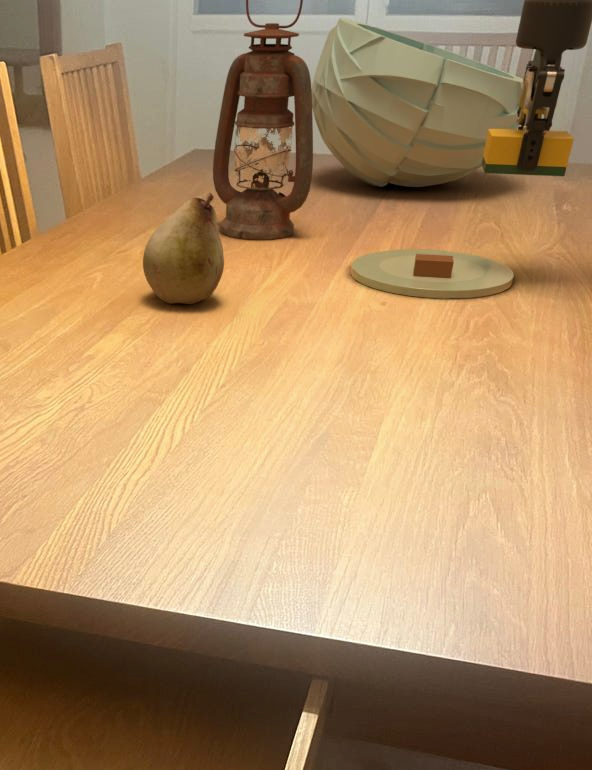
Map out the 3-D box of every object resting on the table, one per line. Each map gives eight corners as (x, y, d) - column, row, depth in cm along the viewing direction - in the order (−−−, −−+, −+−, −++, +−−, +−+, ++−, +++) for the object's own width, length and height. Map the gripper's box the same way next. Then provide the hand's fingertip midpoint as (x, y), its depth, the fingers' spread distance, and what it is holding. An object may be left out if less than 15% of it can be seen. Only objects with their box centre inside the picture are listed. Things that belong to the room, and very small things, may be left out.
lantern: (285, 246, 137) (313, -58, 116) (191, 230, 145) (202, -56, 125) (322, 232, 144) (355, -57, 123) (230, 217, 152) (247, -55, 132)
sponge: (558, 167, 117) (567, 131, 115) (564, 176, 113) (573, 138, 110) (481, 164, 119) (488, 128, 117) (484, 173, 114) (491, 135, 112)
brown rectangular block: (450, 272, 121) (453, 255, 120) (450, 278, 119) (453, 261, 118) (413, 270, 122) (415, 253, 121) (413, 276, 120) (415, 259, 118)
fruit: (231, 310, 112) (238, 199, 105) (152, 315, 110) (155, 203, 103) (206, 286, 120) (212, 181, 113) (133, 291, 118) (134, 185, 112)
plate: (506, 261, 129) (507, 253, 128) (518, 303, 113) (520, 294, 113) (354, 253, 133) (355, 245, 133) (346, 292, 117) (347, 284, 117)
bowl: (455, 195, 189) (512, 72, 176) (485, 239, 161) (555, 96, 147) (287, 140, 187) (331, 11, 174) (287, 174, 159) (340, 23, 146)
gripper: (607, 0, 99) (563, 177, 109) (587, -5, 111) (549, 156, 121) (531, 0, 101) (494, 174, 111) (519, -5, 112) (486, 154, 122)
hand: (523, 164), depth 116 cm, fingers closed on sponge, 6 cm apart
